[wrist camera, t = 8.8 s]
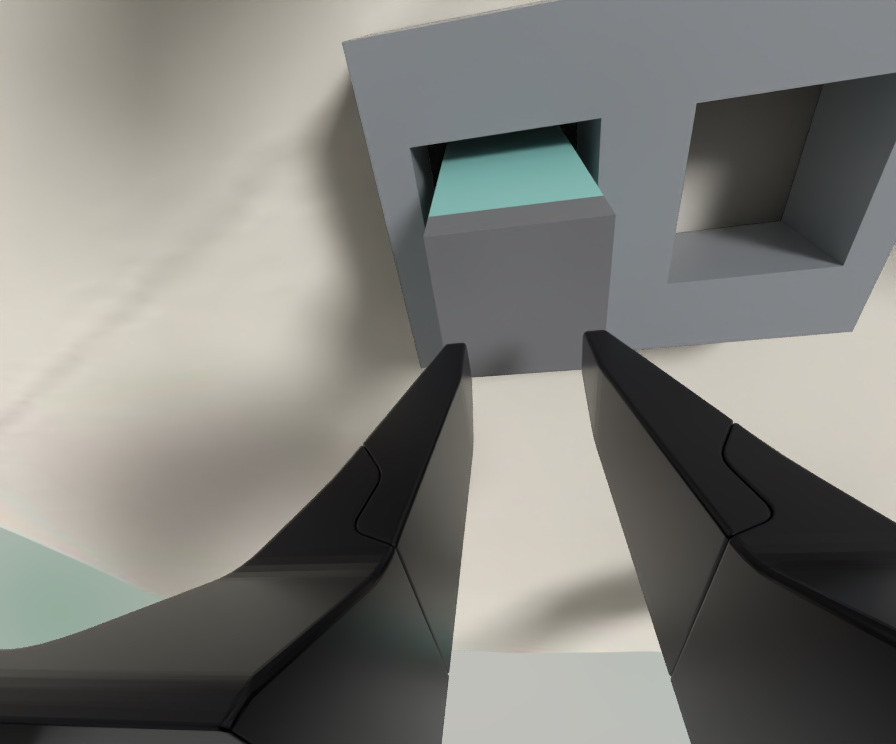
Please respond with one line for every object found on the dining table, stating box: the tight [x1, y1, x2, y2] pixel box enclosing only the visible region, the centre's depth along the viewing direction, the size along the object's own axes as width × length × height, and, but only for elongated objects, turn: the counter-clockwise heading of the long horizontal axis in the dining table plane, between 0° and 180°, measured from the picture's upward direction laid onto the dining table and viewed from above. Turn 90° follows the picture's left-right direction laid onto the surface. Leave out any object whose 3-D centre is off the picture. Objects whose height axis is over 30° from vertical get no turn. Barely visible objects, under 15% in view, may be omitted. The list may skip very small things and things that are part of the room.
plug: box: [423, 125, 616, 377], centre depth 14 cm, size 4×4×9 cm
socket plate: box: [342, 0, 896, 368], centre depth 16 cm, size 11×16×4 cm
